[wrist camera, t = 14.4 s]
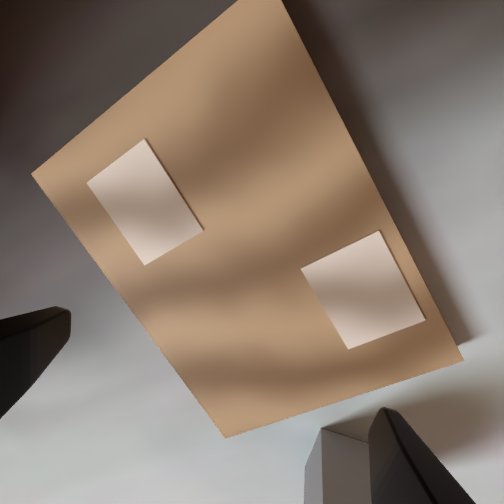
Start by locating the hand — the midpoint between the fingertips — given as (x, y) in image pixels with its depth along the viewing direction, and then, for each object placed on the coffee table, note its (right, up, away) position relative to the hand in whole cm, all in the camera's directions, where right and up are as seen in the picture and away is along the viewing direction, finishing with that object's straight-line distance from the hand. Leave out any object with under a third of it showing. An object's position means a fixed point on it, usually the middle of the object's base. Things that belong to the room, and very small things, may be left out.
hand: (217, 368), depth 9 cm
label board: (+1, +3, +10) cm, 11 cm away
